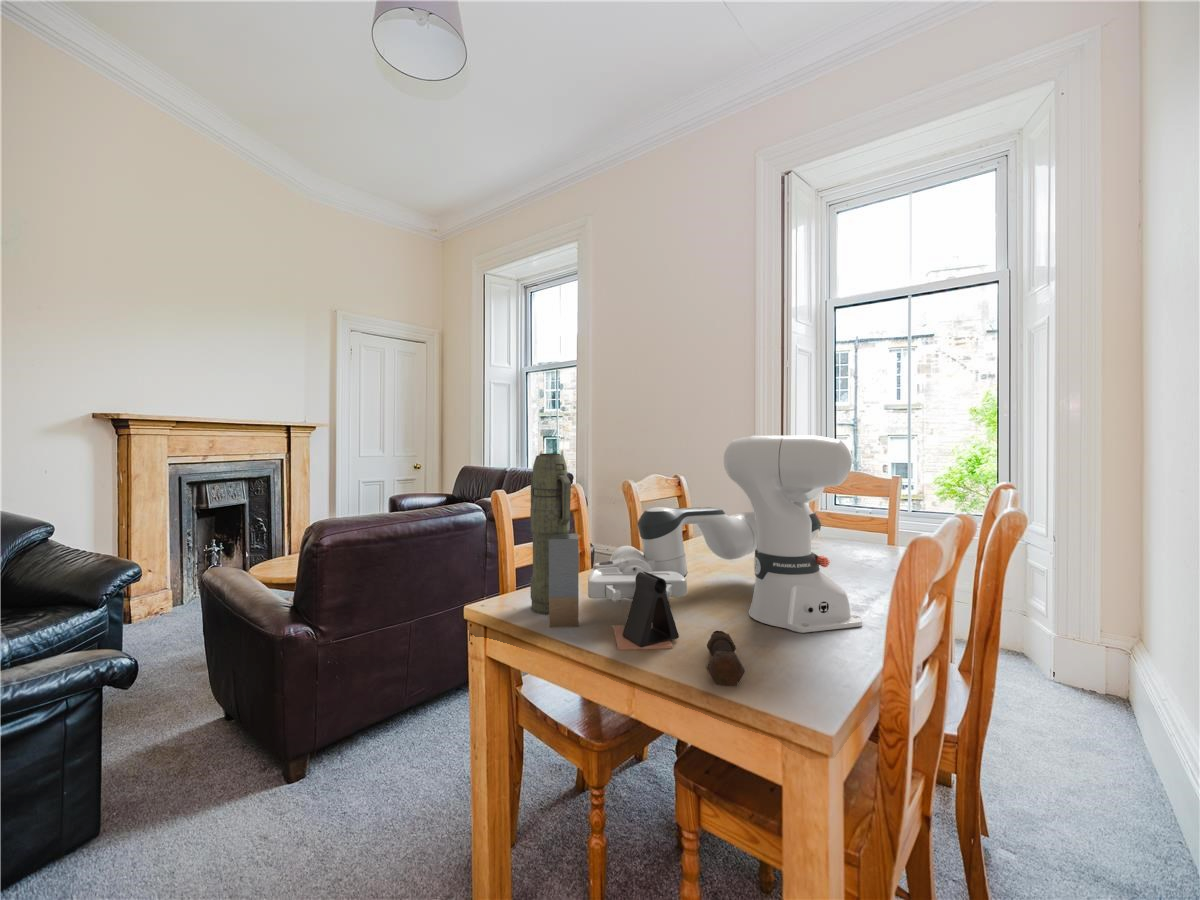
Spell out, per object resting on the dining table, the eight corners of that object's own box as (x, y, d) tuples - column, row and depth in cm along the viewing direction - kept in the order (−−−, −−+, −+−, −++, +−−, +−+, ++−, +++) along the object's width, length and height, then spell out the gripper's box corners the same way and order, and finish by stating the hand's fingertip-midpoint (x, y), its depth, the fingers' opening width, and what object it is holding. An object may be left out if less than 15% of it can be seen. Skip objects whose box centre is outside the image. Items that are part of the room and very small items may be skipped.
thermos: (557, 619, 111) (557, 454, 110) (518, 608, 118) (517, 453, 117) (583, 608, 118) (583, 453, 117) (544, 598, 125) (544, 452, 124)
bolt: (723, 658, 96) (730, 696, 81) (699, 643, 97) (702, 677, 82) (740, 632, 95) (750, 664, 81) (715, 617, 96) (721, 646, 81)
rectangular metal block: (579, 616, 113) (579, 533, 112) (580, 626, 107) (579, 539, 106) (550, 617, 112) (549, 533, 112) (549, 627, 106) (548, 539, 106)
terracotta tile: (661, 626, 107) (661, 624, 107) (672, 648, 96) (672, 645, 96) (613, 627, 106) (613, 625, 106) (618, 649, 95) (618, 647, 95)
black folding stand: (660, 628, 104) (660, 568, 104) (679, 638, 99) (679, 575, 99) (622, 636, 100) (622, 574, 100) (639, 647, 95) (639, 582, 94)
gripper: (679, 590, 114) (695, 611, 101) (586, 592, 113) (589, 614, 99) (680, 562, 114) (695, 579, 100) (586, 563, 113) (589, 581, 99)
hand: (641, 596), depth 100 cm, fingers open, 8 cm apart
